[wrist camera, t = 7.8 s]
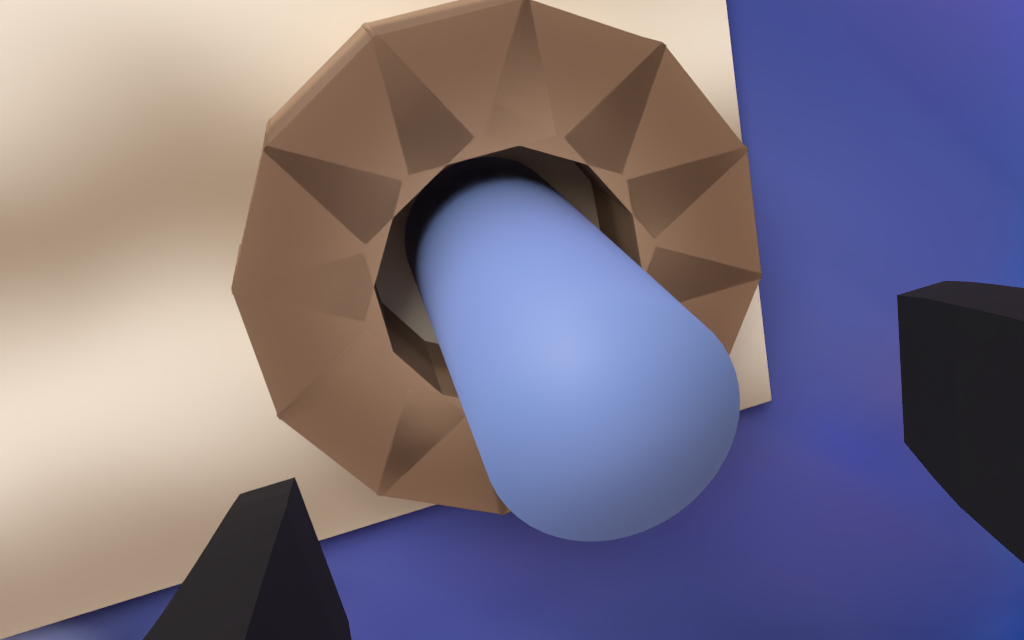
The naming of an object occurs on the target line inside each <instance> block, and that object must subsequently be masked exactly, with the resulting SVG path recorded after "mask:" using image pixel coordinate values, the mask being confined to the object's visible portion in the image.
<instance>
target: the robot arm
mask: <svg viewBox="0 0 1024 640" xmlns="http://www.w3.org/2000/svg"><path fill="white" fill-rule="evenodd" d="M897 301H898V321H899V342H900V362H901V382H902V403H903V423H904V442H905V444H906V445H907V446H908V447H909V448H910V450H911V451H912V452H913V453H914V454H915V456H916V457H917V458H918V459H919V461H920V462H921V463H922V464H923V465H924V467H925V468H926V469H927V470H928V471H929V473H930V474H931V475H932V476H933V477H934V479H935V480H936V481H937V482H938V483H939V484H940V485H941V486H942V488H943V489H944V490H945V491H946V492H947V493H948V494H949V495H950V496H951V498H952V499H953V500H954V501H955V502H956V503H957V504H958V505H959V506H960V507H961V508H962V509H963V510H964V511H965V512H966V513H968V514H969V515H970V516H971V517H972V518H973V519H974V520H975V521H976V522H978V523H979V524H980V525H981V526H982V527H983V528H984V529H985V530H987V531H988V532H989V533H990V534H991V535H992V536H993V537H994V538H996V539H997V540H998V541H999V542H1000V543H1001V544H1002V545H1003V546H1005V547H1006V548H1007V549H1008V550H1009V551H1010V552H1011V553H1013V554H1014V555H1015V556H1016V557H1017V558H1018V559H1020V560H1021V561H1022V562H1023V563H1024V288H1018V287H1010V286H1002V285H994V284H985V283H975V282H960V281H943V282H940V283H936V284H933V285H930V286H926V287H923V288H920V289H916V290H913V291H910V292H906V293H903V294H900V295H897ZM143 640H351V634H350V628H349V622H348V619H347V616H346V613H345V611H344V608H343V605H342V603H341V600H340V597H339V594H338V592H337V589H336V586H335V584H334V581H333V578H332V576H331V573H330V570H329V568H328V565H327V562H326V559H325V557H324V554H323V551H322V549H321V546H320V543H319V541H318V538H317V535H316V533H315V530H314V527H313V524H312V522H311V519H310V516H309V514H308V511H307V508H306V506H305V503H304V500H303V498H302V495H301V492H300V489H299V487H298V484H297V481H296V479H295V477H294V478H291V479H288V480H284V481H281V482H278V483H274V484H271V485H268V486H264V487H261V488H258V489H254V490H251V491H248V492H245V493H241V494H240V495H239V496H238V497H237V499H236V500H235V502H234V503H233V505H232V506H231V508H230V509H229V511H228V512H227V514H226V516H225V517H224V519H223V520H222V522H221V523H220V525H219V527H218V528H217V530H216V531H215V533H214V535H213V536H212V538H211V539H210V541H209V543H208V544H207V546H206V547H205V549H204V551H203V552H202V554H201V555H200V557H199V558H198V560H197V562H196V563H195V565H194V566H193V568H192V569H191V571H190V572H189V574H188V575H187V577H186V578H185V580H184V581H183V583H182V584H181V586H180V587H179V589H178V590H177V592H176V594H175V595H174V597H173V598H172V600H171V601H170V603H169V604H168V606H167V607H166V609H165V610H164V612H163V613H162V615H161V616H160V617H159V619H158V620H157V621H156V623H155V624H154V626H153V627H152V628H151V630H150V631H149V632H148V634H147V635H146V636H145V638H144V639H143Z"/></svg>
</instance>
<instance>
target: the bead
mask: <svg viewBox="0 0 1024 640" xmlns="http://www.w3.org/2000/svg"><path fill="white" fill-rule="evenodd" d="M361 25H362V26H361V27H360V28H359V29H358V30H357V31H356V32H355V33H354V34H353V35H352V36H351V37H350V38H349V39H348V40H347V41H346V42H345V43H344V44H343V45H342V46H341V47H340V48H339V49H338V50H337V51H336V52H335V53H334V54H333V55H332V56H331V58H330V59H329V60H328V61H327V62H326V63H325V64H324V65H323V66H322V67H321V68H320V69H319V70H318V71H317V72H316V73H315V74H314V75H313V76H312V77H311V78H310V79H309V80H308V81H307V82H306V83H305V84H304V85H303V86H302V87H301V88H300V89H299V90H298V91H297V92H296V93H295V94H294V95H293V96H292V97H291V98H290V99H289V100H288V101H287V102H286V103H285V104H284V105H283V106H282V107H281V108H280V110H279V111H278V112H277V113H276V114H275V115H274V116H273V117H272V118H271V119H270V118H269V121H268V122H267V124H266V131H265V137H264V143H263V148H262V152H261V157H260V161H259V166H258V170H257V175H256V179H255V184H254V188H253V192H252V197H251V201H250V206H249V210H248V215H247V219H246V224H245V228H244V233H243V237H242V242H241V244H240V245H239V250H238V255H237V261H236V266H235V271H234V276H233V282H232V287H231V290H232V294H233V296H234V298H235V301H236V304H237V306H238V309H239V312H240V315H241V317H242V320H243V323H244V325H245V328H246V331H247V334H248V336H249V339H250V342H251V344H252V347H253V350H254V353H255V355H256V358H257V361H258V363H259V366H260V369H261V372H262V374H263V377H264V380H265V382H266V385H267V388H268V391H269V393H270V396H271V399H272V401H273V404H274V407H275V410H276V412H277V417H278V418H279V420H282V421H283V422H285V423H286V424H287V425H289V426H290V427H291V428H292V429H294V430H295V431H296V432H298V433H299V434H300V435H301V436H303V437H304V438H305V439H307V440H308V441H309V442H311V443H312V444H313V445H314V446H316V447H317V448H318V449H320V450H321V451H322V452H323V453H325V454H326V455H327V456H329V457H330V458H331V459H332V460H334V461H335V462H336V463H338V464H339V465H340V466H342V467H343V468H344V469H345V470H347V471H348V472H349V473H351V474H352V475H353V476H354V477H356V478H357V479H358V480H360V481H361V482H362V483H364V484H365V485H366V486H367V487H369V488H370V489H371V490H373V491H374V492H375V493H376V495H379V496H380V497H381V496H386V497H392V498H399V499H405V500H412V501H418V502H425V503H431V504H438V505H445V506H451V507H458V508H464V509H471V510H477V511H484V512H490V513H497V514H500V515H502V514H503V515H504V514H505V513H508V512H511V510H509V509H508V508H507V506H506V505H505V504H504V503H503V501H502V500H501V499H500V498H499V496H498V495H497V493H496V491H495V489H494V488H493V486H492V484H491V482H490V480H489V477H488V474H487V472H486V469H485V466H484V463H483V461H482V458H481V455H480V453H479V450H478V447H477V445H476V442H475V439H474V437H473V434H472V431H471V429H470V426H469V423H468V421H467V418H466V415H465V413H464V410H463V407H462V405H461V402H460V399H459V397H458V394H457V391H456V389H455V386H454V383H453V381H452V378H451V375H450V373H449V370H448V367H447V365H446V362H445V359H444V357H443V354H442V351H441V349H440V346H439V344H437V343H433V342H428V341H424V340H423V339H422V338H421V337H420V336H419V335H418V334H417V333H415V332H414V331H413V330H412V329H411V328H410V327H409V326H408V325H407V324H405V323H404V322H403V321H402V320H401V319H400V318H399V317H398V316H396V315H395V314H394V313H393V312H392V311H391V310H390V309H389V308H387V307H386V306H385V305H384V304H383V303H382V302H381V300H380V296H379V293H378V290H377V286H376V283H375V281H376V278H377V274H378V270H379V267H380V263H381V259H382V256H383V252H384V248H385V245H386V241H387V237H388V234H389V230H390V227H391V223H392V219H393V217H394V216H395V215H396V214H397V213H398V212H399V211H400V210H401V209H402V208H404V207H405V206H406V205H407V204H408V203H409V202H410V201H411V200H412V199H413V198H414V197H415V196H416V195H417V194H418V193H419V192H420V191H421V190H422V189H423V188H424V187H425V186H426V185H427V184H428V183H429V182H430V181H431V180H432V179H433V178H434V177H435V176H436V175H437V174H438V173H439V172H440V171H441V170H442V169H443V168H444V167H445V166H446V165H448V164H452V163H456V162H460V161H463V160H467V159H471V158H475V157H478V156H482V155H486V154H489V153H493V152H497V151H501V150H504V149H508V148H512V147H516V146H523V147H527V148H530V149H534V150H537V151H541V152H544V153H548V154H551V155H555V156H559V157H562V158H566V159H569V160H572V161H573V162H574V163H575V164H576V165H577V167H578V168H579V169H580V170H581V171H582V172H583V173H584V174H585V175H586V177H587V178H588V179H589V180H590V181H591V184H592V189H593V195H594V200H595V205H596V211H597V216H598V222H599V227H600V231H601V232H602V233H604V234H605V235H606V236H607V237H608V238H609V239H610V240H611V241H612V242H613V243H615V244H616V245H617V246H618V247H619V248H620V249H621V250H622V251H623V252H624V253H626V254H627V255H628V256H629V257H630V258H631V259H632V260H633V261H634V262H636V263H637V264H638V265H639V266H640V267H641V268H642V269H643V270H644V271H645V272H647V273H648V274H649V275H650V276H651V277H652V278H653V279H654V280H655V281H656V282H658V283H659V284H660V285H661V286H662V287H663V288H664V289H665V290H666V291H668V292H669V293H670V294H671V295H672V296H673V297H674V298H675V299H676V300H677V301H679V302H680V303H681V304H682V305H683V306H684V307H685V308H686V309H687V310H688V311H690V312H691V313H692V314H693V315H694V316H695V317H696V318H697V319H698V320H700V321H701V322H702V323H703V324H704V325H705V326H706V327H707V328H708V329H709V330H711V331H712V332H713V333H714V335H715V336H716V337H717V338H718V339H719V341H720V342H721V343H722V344H723V346H724V348H725V349H726V351H727V353H728V355H730V352H731V350H732V348H733V345H734V343H735V340H736V338H737V335H738V333H739V330H740V328H741V325H742V323H743V320H744V318H745V315H746V313H747V311H748V308H749V306H750V303H751V301H752V298H753V296H754V293H755V291H756V288H757V286H758V283H759V281H760V279H761V278H762V273H761V267H760V259H759V250H758V241H757V232H756V223H755V214H754V205H753V196H752V187H751V179H750V170H749V161H748V150H747V146H744V144H743V143H742V142H741V141H740V139H739V138H738V137H737V136H736V134H735V133H734V132H733V131H732V129H731V128H730V127H729V125H728V124H727V123H726V122H725V120H724V119H723V118H722V117H721V115H720V114H719V113H718V112H717V110H716V109H715V108H714V106H713V105H712V104H711V103H710V101H709V100H708V99H707V98H706V96H705V95H704V94H703V92H702V91H701V90H700V89H699V87H698V86H697V85H696V84H695V82H694V81H693V80H692V79H691V77H690V76H689V75H688V73H687V72H686V71H685V70H684V68H683V67H682V66H681V65H680V63H679V62H678V61H677V60H676V58H675V57H674V56H673V54H672V53H671V52H670V51H669V49H668V48H667V47H666V44H664V43H663V42H661V41H657V40H653V39H649V38H646V37H642V36H639V35H636V34H633V33H630V32H627V31H624V30H621V29H618V28H615V27H612V26H609V25H606V24H603V23H600V22H597V21H594V20H591V19H588V18H585V17H582V16H579V15H576V14H573V13H570V12H567V11H564V10H561V9H558V8H555V7H551V6H548V5H545V4H542V3H539V2H536V1H533V0H457V1H453V2H449V3H445V4H441V5H437V6H433V7H429V8H425V9H421V10H417V11H413V12H409V13H405V14H401V15H397V16H393V17H388V18H384V19H380V20H376V21H372V22H368V23H366V22H365V23H364V24H361Z"/></svg>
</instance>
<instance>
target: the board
mask: <svg viewBox="0 0 1024 640" xmlns="http://www.w3.org/2000/svg"><path fill="white" fill-rule="evenodd" d="M453 1H457V0H0V639H3V638H7V637H10V636H13V635H16V634H19V633H23V632H26V631H29V630H32V629H36V628H39V627H42V626H45V625H48V624H52V623H55V622H58V621H61V620H65V619H68V618H71V617H74V616H78V615H81V614H84V613H87V612H90V611H94V610H97V609H100V608H103V607H107V606H110V605H113V604H116V603H120V602H123V601H126V600H129V599H132V598H136V597H139V596H142V595H145V594H149V593H152V592H155V591H158V590H162V589H165V588H168V587H171V586H174V585H178V584H181V583H183V581H184V580H185V578H186V577H187V575H188V574H189V572H190V571H191V569H192V568H193V566H194V565H195V563H196V562H197V560H198V558H199V557H200V555H201V554H202V552H203V551H204V549H205V547H206V546H207V544H208V543H209V541H210V539H211V538H212V536H213V535H214V533H215V531H216V530H217V528H218V527H219V525H220V523H221V522H222V520H223V519H224V517H225V516H226V514H227V512H228V511H229V509H230V508H231V506H232V505H233V503H234V502H235V500H236V499H237V497H238V496H239V495H240V494H241V493H245V492H248V491H251V490H254V489H258V488H261V487H264V486H268V485H271V484H274V483H278V482H281V481H284V480H288V479H291V478H294V477H295V479H296V481H297V484H298V487H299V489H300V492H301V495H302V498H303V500H304V503H305V506H306V508H307V511H308V514H309V516H310V519H311V522H312V524H313V527H314V530H315V533H316V535H317V538H318V541H320V540H323V539H326V538H329V537H333V536H336V535H339V534H342V533H346V532H349V531H352V530H355V529H358V528H362V527H365V526H368V525H371V524H375V523H378V522H381V521H384V520H388V519H391V518H394V517H397V516H400V515H404V514H407V513H410V512H413V511H417V510H420V509H423V508H426V507H430V506H433V505H436V504H431V503H425V502H418V501H412V500H405V499H399V498H392V497H386V496H381V497H380V496H379V495H376V493H375V492H374V491H373V490H371V489H370V488H369V487H367V486H366V485H365V484H364V483H362V482H361V481H360V480H358V479H357V478H356V477H354V476H353V475H352V474H351V473H349V472H348V471H347V470H345V469H344V468H343V467H342V466H340V465H339V464H338V463H336V462H335V461H334V460H332V459H331V458H330V457H329V456H327V455H326V454H325V453H323V452H322V451H321V450H320V449H318V448H317V447H316V446H314V445H313V444H312V443H311V442H309V441H308V440H307V439H305V438H304V437H303V436H301V435H300V434H299V433H298V432H296V431H295V430H294V429H292V428H291V427H290V426H289V425H287V424H286V423H285V422H283V421H282V420H279V418H278V417H277V412H276V410H275V407H274V404H273V401H272V399H271V396H270V393H269V391H268V388H267V385H266V382H265V380H264V377H263V374H262V372H261V369H260V366H259V363H258V361H257V358H256V355H255V353H254V350H253V347H252V344H251V342H250V339H249V336H248V334H247V331H246V328H245V325H244V323H243V320H242V317H241V315H240V312H239V309H238V306H237V304H236V301H235V298H234V296H233V294H232V290H231V287H232V282H233V276H234V271H235V266H236V261H237V255H238V250H239V245H240V244H241V242H242V237H243V233H244V228H245V224H246V219H247V215H248V210H249V206H250V201H251V197H252V192H253V188H254V184H255V179H256V175H257V170H258V166H259V161H260V157H261V152H262V148H263V143H264V137H265V131H266V124H267V122H268V121H269V118H270V119H271V118H272V117H273V116H274V115H275V114H276V113H277V112H278V111H279V110H280V108H281V107H282V106H283V105H284V104H285V103H286V102H287V101H288V100H289V99H290V98H291V97H292V96H293V95H294V94H295V93H296V92H297V91H298V90H299V89H300V88H301V87H302V86H303V85H304V84H305V83H306V82H307V81H308V80H309V79H310V78H311V77H312V76H313V75H314V74H315V73H316V72H317V71H318V70H319V69H320V68H321V67H322V66H323V65H324V64H325V63H326V62H327V61H328V60H329V59H330V58H331V56H332V55H333V54H334V53H335V52H336V51H337V50H338V49H339V48H340V47H341V46H342V45H343V44H344V43H345V42H346V41H347V40H348V39H349V38H350V37H351V36H352V35H353V34H354V33H355V32H356V31H357V30H358V29H359V28H360V27H361V26H362V25H361V24H364V23H365V22H366V23H368V22H372V21H376V20H380V19H384V18H388V17H393V16H397V15H401V14H405V13H409V12H413V11H417V10H421V9H425V8H429V7H433V6H437V5H441V4H445V3H449V2H453ZM533 1H536V2H539V3H542V4H545V5H548V6H551V7H555V8H558V9H561V10H564V11H567V12H570V13H573V14H576V15H579V16H582V17H585V18H588V19H591V20H594V21H597V22H600V23H603V24H606V25H609V26H612V27H615V28H618V29H621V30H624V31H627V32H630V33H633V34H636V35H639V36H642V37H646V38H649V39H653V40H657V41H661V42H663V43H664V44H666V47H667V48H668V49H669V51H670V52H671V53H672V54H673V56H674V57H675V58H676V60H677V61H678V62H679V63H680V65H681V66H682V67H683V68H684V70H685V71H686V72H687V73H688V75H689V76H690V77H691V79H692V80H693V81H694V82H695V84H696V85H697V86H698V87H699V89H700V90H701V91H702V92H703V94H704V95H705V96H706V98H707V99H708V100H709V101H710V103H711V104H712V105H713V106H714V108H715V109H716V110H717V112H718V113H719V114H720V115H721V117H722V118H723V119H724V120H725V122H726V123H727V124H728V125H729V127H730V128H731V129H732V131H733V132H734V133H735V134H736V136H737V137H738V138H739V139H740V141H741V142H742V138H741V129H740V120H739V111H738V103H737V94H736V85H735V76H734V68H733V59H732V50H731V41H730V33H729V24H728V15H727V6H726V0H533ZM479 157H499V158H505V159H510V160H513V161H516V162H519V163H521V164H523V165H525V166H527V167H529V168H530V169H532V170H533V171H535V172H536V173H537V174H538V175H540V176H541V177H542V178H543V179H544V180H545V181H546V182H547V183H548V184H549V185H551V186H552V187H553V188H554V189H555V190H556V191H557V192H558V193H559V194H561V195H562V196H563V197H564V198H565V199H566V200H567V201H568V202H569V203H570V204H572V205H573V206H574V207H575V208H576V209H577V210H578V211H579V212H580V213H581V214H583V215H584V216H585V217H586V218H587V219H588V220H589V221H590V222H591V223H593V224H594V225H595V226H596V227H597V228H598V229H599V230H600V227H599V222H598V216H597V211H596V205H595V200H594V195H593V189H592V184H591V181H590V180H589V179H588V178H587V177H586V175H585V174H584V173H583V172H582V171H581V170H580V169H579V168H578V167H577V165H576V164H575V163H574V162H573V161H572V160H569V159H566V158H562V157H559V156H555V155H551V154H548V153H544V152H541V151H537V150H534V149H530V148H527V147H523V146H516V147H512V148H508V149H504V150H501V151H497V152H493V153H489V154H486V155H482V156H478V157H475V158H479ZM471 159H473V158H471ZM467 160H468V159H467ZM463 161H465V160H463ZM460 162H462V161H460ZM456 163H459V162H456ZM456 163H452V164H448V165H446V166H445V167H444V168H443V169H442V170H441V171H440V172H442V171H443V170H445V169H446V168H448V167H450V166H452V165H454V164H456ZM440 172H439V173H440ZM439 173H438V174H439ZM420 192H421V191H420ZM420 192H419V193H420ZM419 193H418V194H417V195H416V196H415V197H414V198H413V199H412V200H411V201H410V202H409V203H408V204H407V205H406V206H405V207H404V208H402V209H401V210H400V211H399V212H398V213H397V214H396V215H395V216H394V217H393V219H392V223H391V227H390V230H389V234H388V237H387V241H386V245H385V248H384V252H383V256H382V259H381V263H380V267H379V270H378V274H377V278H376V281H375V283H376V286H377V290H378V293H379V296H380V300H381V302H382V303H383V304H384V305H385V306H386V307H387V308H389V309H390V310H391V311H392V312H393V313H394V314H395V315H396V316H398V317H399V318H400V319H401V320H402V321H403V322H404V323H405V324H407V325H408V326H409V327H410V328H411V329H412V330H413V331H414V332H415V333H417V334H418V335H419V336H420V337H421V338H422V339H423V340H424V341H428V342H433V343H437V344H439V343H438V341H437V338H436V335H435V333H434V330H433V327H432V324H431V322H430V319H429V316H428V314H427V311H426V308H425V306H424V303H423V300H422V298H421V295H420V292H419V290H418V287H417V284H416V282H415V279H414V276H413V274H412V271H411V268H410V266H409V263H408V260H407V255H406V251H405V229H406V223H407V219H408V216H409V213H410V210H411V208H412V206H413V204H414V201H415V200H416V198H417V196H418V195H419ZM729 356H730V358H731V361H732V364H733V366H734V369H735V371H736V376H737V380H738V384H739V394H740V410H743V409H746V408H749V407H752V406H756V405H759V404H762V403H765V402H769V401H772V400H771V391H770V382H769V373H768V365H767V356H766V347H765V339H764V330H763V321H762V312H761V304H760V295H759V286H757V288H756V291H755V293H754V296H753V298H752V301H751V303H750V306H749V308H748V311H747V313H746V315H745V318H744V320H743V323H742V325H741V328H740V330H739V333H738V335H737V338H736V340H735V343H734V345H733V348H732V350H731V352H730V355H729ZM740 410H739V411H740Z"/></svg>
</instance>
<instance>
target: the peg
mask: <svg viewBox="0 0 1024 640" xmlns="http://www.w3.org/2000/svg"><path fill="white" fill-rule="evenodd" d="M405 251H406V255H407V260H408V263H409V266H410V268H411V271H412V274H413V276H414V279H415V282H416V284H417V287H418V290H419V292H420V295H421V298H422V300H423V303H424V306H425V308H426V311H427V314H428V316H429V319H430V322H431V324H432V327H433V330H434V333H435V335H436V338H437V341H438V343H439V346H440V349H441V351H442V354H443V357H444V359H445V362H446V365H447V367H448V370H449V373H450V375H451V378H452V381H453V383H454V386H455V389H456V391H457V394H458V397H459V399H460V402H461V405H462V407H463V410H464V413H465V415H466V418H467V421H468V423H469V426H470V429H471V431H472V434H473V437H474V439H475V442H476V445H477V447H478V450H479V453H480V455H481V458H482V461H483V463H484V466H485V469H486V472H487V474H488V477H489V480H490V482H491V484H492V486H493V488H494V489H495V491H496V493H497V495H498V496H499V498H500V499H501V500H502V501H503V503H504V504H505V505H506V506H507V508H508V509H509V510H511V511H512V512H513V513H514V514H515V515H516V516H517V517H518V518H519V519H521V520H522V521H524V522H525V523H527V524H528V525H530V526H531V527H533V528H535V529H537V530H539V531H541V532H543V533H546V534H549V535H552V536H555V537H558V538H563V539H568V540H573V541H587V542H593V541H608V540H614V539H620V538H624V537H628V536H631V535H635V534H638V533H641V532H643V531H646V530H648V529H651V528H653V527H655V526H657V525H659V524H661V523H663V522H664V521H666V520H668V519H670V518H671V517H673V516H674V515H676V514H677V513H679V512H680V511H681V510H683V509H684V508H685V507H686V506H688V505H689V504H690V503H691V502H692V501H694V500H695V499H696V498H697V497H698V495H699V494H700V493H701V492H702V491H703V490H704V489H705V488H706V487H707V486H708V485H709V483H710V482H711V481H712V479H713V478H714V477H715V476H716V474H717V472H718V471H719V469H720V468H721V466H722V464H723V463H724V461H725V459H726V457H727V455H728V452H729V450H730V448H731V446H732V443H733V440H734V437H735V434H736V430H737V425H738V420H739V410H740V394H739V384H738V380H737V376H736V371H735V369H734V366H733V364H732V361H731V358H730V356H729V355H728V353H727V351H726V349H725V348H724V346H723V344H722V343H721V342H720V341H719V339H718V338H717V337H716V336H715V335H714V333H713V332H712V331H711V330H709V329H708V328H707V327H706V326H705V325H704V324H703V323H702V322H701V321H700V320H698V319H697V318H696V317H695V316H694V315H693V314H692V313H691V312H690V311H688V310H687V309H686V308H685V307H684V306H683V305H682V304H681V303H680V302H679V301H677V300H676V299H675V298H674V297H673V296H672V295H671V294H670V293H669V292H668V291H666V290H665V289H664V288H663V287H662V286H661V285H660V284H659V283H658V282H656V281H655V280H654V279H653V278H652V277H651V276H650V275H649V274H648V273H647V272H645V271H644V270H643V269H642V268H641V267H640V266H639V265H638V264H637V263H636V262H634V261H633V260H632V259H631V258H630V257H629V256H628V255H627V254H626V253H624V252H623V251H622V250H621V249H620V248H619V247H618V246H617V245H616V244H615V243H613V242H612V241H611V240H610V239H609V238H608V237H607V236H606V235H605V234H604V233H602V232H601V231H600V230H599V229H598V228H597V227H596V226H595V225H594V224H593V223H591V222H590V221H589V220H588V219H587V218H586V217H585V216H584V215H583V214H581V213H580V212H579V211H578V210H577V209H576V208H575V207H574V206H573V205H572V204H570V203H569V202H568V201H567V200H566V199H565V198H564V197H563V196H562V195H561V194H559V193H558V192H557V191H556V190H555V189H554V188H553V187H552V186H551V185H549V184H548V183H547V182H546V181H545V180H544V179H543V178H542V177H541V176H540V175H538V174H537V173H536V172H535V171H533V170H532V169H530V168H529V167H527V166H525V165H523V164H521V163H519V162H516V161H513V160H510V159H505V158H499V157H479V158H473V159H468V160H465V161H462V162H459V163H456V164H454V165H452V166H450V167H448V168H446V169H445V170H443V171H442V172H440V173H439V174H437V175H436V176H435V177H434V178H433V179H432V180H431V181H430V182H429V183H428V184H427V185H426V186H425V187H424V188H423V189H422V190H421V192H420V193H419V195H418V196H417V198H416V200H415V201H414V204H413V206H412V208H411V210H410V213H409V216H408V219H407V223H406V229H405Z"/></svg>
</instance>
